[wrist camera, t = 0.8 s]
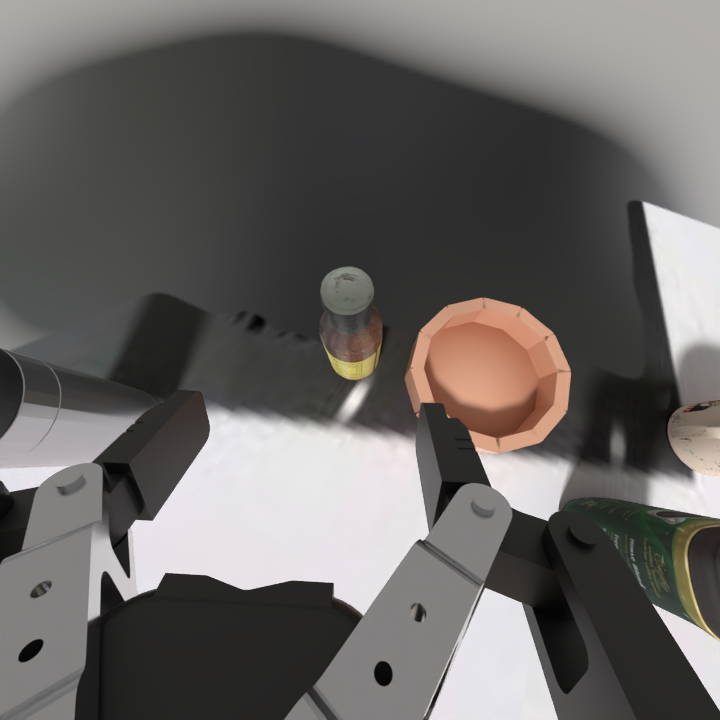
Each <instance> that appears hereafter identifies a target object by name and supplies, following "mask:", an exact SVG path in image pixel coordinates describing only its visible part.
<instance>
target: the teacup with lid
mask: <svg viewBox="0 0 720 720" xmlns="http://www.w3.org/2000/svg"><path fill="white" fill-rule="evenodd" d="M667 433H668V439H669V442H670V445H671V447H672V449H673V450H674V452H675V454H676V455H677V456H678V457H679V459H680V460H681V461H682V462H683V463H685V464H686V465H687V466H688V467H690V468H691V469H693V470H695V471H697V472H699V473H701V474H705V475H709V476H719V477H720V400H717V401H710V402H703V403H697V404H690V405H686V406H683V407H680V408H679V409H677V410H676V411H675V412H674V413H673V414H672V415H671V417H670V419H669V422H668V427H667Z"/></svg>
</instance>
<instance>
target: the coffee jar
mask: <svg viewBox="0 0 720 720" xmlns="http://www.w3.org/2000/svg"><path fill="white" fill-rule="evenodd" d="M563 511H568V512H573V513H577V514H580V515H582V516H584V517H586V518H588V519H590V520H591V521H593V522H594V523H596V524H597V525H598V526H600V527H601V528H602V529H603V530H604V531H605V532H606V533H607V534H608V536H609V537H610V538H611V540H612V541H613V543H614V544H615V546H616V548H617V549H618V551H619V552H620V554H621V555H622V557H623V559H624V560H625V562H626V563H627V565H628V567H629V568H630V570H631V571H632V573H633V574H634V576H635V578H636V579H637V581H638V582H639V584H640V586H641V587H642V589H643V590H644V592H645V593H646V595H647V597H648V598H649V600H650V601H651V603H652V604H654V605H656V606H658V607H660V608H662V609H664V610H666V611H668V612H670V613H672V614H675V615H677V616H678V617H681V618H683V619H685V620H686V621H688V622H691V623H692V624H694V625H696V626H698V627H699V628H701V629H702V630H704V631H705V632H707V633H708V634H709V635H711V636H712V637H714V638H715V639H717V640H719V641H720V519H717V518H711V517H706V516H700V515H695V514H690V513H685V512H680V511H674V510H669V509H664V508H658V507H653V506H648V505H643V504H638V503H633V502H627V501H622V500H616V499H609V498H581V499H575V500H572V501H570V502H569V503H568V504H566V506H565V507H564V509H563Z"/></svg>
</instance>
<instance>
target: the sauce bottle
mask: <svg viewBox="0 0 720 720" xmlns="http://www.w3.org/2000/svg"><path fill="white" fill-rule="evenodd" d="M320 297H321V302H322V305H323V308H324V309H325V312H324V314H323V315H322V318H321V321H320V336H321V340H322V342H323V345H324V347H325V349H326V352H327V354H328V357H329V359H330V362H331V364H332V366H333V368H334V370H335V371H336V372H337V373H338V374H339V375H340V376H342V377H344V378H346V379H350V380H361V379H363V378H365V377H367V376H368V375H370V374H371V373H372V372H373V371H374V370H375V368H376V366H377V363H378V360H379V355H380V348H381V342H382V335H383V332H382V329H383V323H382V318H381V315H380V314H379V313H378V310H377V309H376V308H375V306H374V305H373V301H374V285H373V283H372V280H371V279H370V277H369V276H368V275H367V274H366V273H365V272H364V271H362V270H360V269H358V268H355V267H342V268H338V269H335V270H333V271H332V272H330V273H329V274H327V276H326V277H325V278H324V280H323V282H322V284H321V289H320Z"/></svg>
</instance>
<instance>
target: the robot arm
mask: <svg viewBox="0 0 720 720" xmlns="http://www.w3.org/2000/svg"><path fill="white" fill-rule="evenodd" d="M209 432H210V425H209V420H208V416H207V412H206V407H205V403H204V399H203V395H202V393H201V392H199V391H186V390H177V391H175V392H174V393H173V394H172V395H170V396H169V397H168V398H167V399H166V400H165V401H164V402H163V403H160V404H158V402H157V401H156V399H155V398H154V397H153V396H152V395H151V394H149V393H147V392H145V391H143V390H139V389H136V388H133V387H130V386H126V385H123V384H120V383H117V382H113V381H110V380H107V379H103V378H100V377H97V376H93V375H90V374H86V373H83V372H80V371H76V370H73V369H70V368H66V367H63V366H60V365H56V364H53V363H49V362H46V361H43V360H39V359H36V358H32V357H29V356H25V355H22V354H18V353H15V352H12V351H8V350H5V349H2V348H0V468H25V467H51V466H71V467H68V468H65V469H63V470H61V471H59V472H57V473H55V474H54V475H52V476H51V477H49V478H48V479H47V480H45V481H44V482H43V483H42V484H41V485H40V486H39V487H35V488H30V489H25V490H19V491H14V492H9V491H8V490H7V488H6V487H5V485H4V484H3V482H2V481H0V720H429V719H430V717H431V714H432V712H433V710H434V707H435V705H436V703H437V700H438V698H439V696H440V693H441V691H442V689H443V686H444V684H445V682H446V679H447V677H448V674H449V672H450V670H451V667H452V665H453V662H454V660H455V657H456V655H457V652H458V650H459V648H460V645H461V643H462V641H463V638H464V636H465V634H466V631H467V629H468V627H469V624H470V622H471V620H472V617H473V615H474V613H475V610H476V608H477V606H478V603H479V601H480V599H481V596H482V594H483V592H484V589H485V588H487V589H490V590H492V591H495V592H497V593H500V594H502V595H505V596H507V597H509V598H512V599H514V600H517V601H519V602H522V605H523V608H524V611H525V614H526V618H527V621H528V624H529V627H530V630H531V634H532V637H533V640H534V643H535V646H536V650H537V653H538V656H539V659H540V662H541V666H542V669H543V672H544V675H545V678H546V682H547V685H548V688H549V691H550V695H551V698H552V701H553V704H554V707H555V711H556V714H557V717H558V720H720V711H719V709H718V708H717V706H716V704H715V703H714V701H713V700H712V698H711V697H710V695H709V693H708V692H707V690H706V689H705V687H704V685H703V684H702V682H701V681H700V679H699V677H698V676H697V674H696V673H695V671H694V670H693V668H692V666H691V665H690V663H689V662H688V660H687V658H686V657H685V655H684V654H683V652H682V651H681V649H680V647H679V646H678V644H677V643H676V641H675V639H674V638H673V636H672V635H671V633H670V632H669V630H668V628H667V627H666V625H665V624H664V622H663V620H662V619H661V617H660V616H659V614H658V613H657V611H656V609H655V608H654V606H653V605H652V603H651V601H650V600H649V598H648V597H647V595H646V593H645V592H644V590H643V589H642V587H641V586H640V584H639V582H638V581H637V579H636V578H635V576H634V574H633V573H632V571H631V570H630V568H629V567H628V565H627V563H626V562H625V560H624V559H623V557H622V555H621V554H620V552H619V551H618V549H617V548H616V546H615V544H614V543H613V541H612V540H611V538H610V537H609V536H608V534H607V533H606V532H605V531H604V530H603V529H602V528H601V527H600V526H598V525H597V524H596V523H594V522H593V521H591V520H590V519H588V518H586V517H584V516H582V515H580V514H577V513H573V512H568V511H560V512H556V513H554V514H552V515H551V517H550V518H549V520H548V521H546V520H543V519H540V518H537V517H534V516H531V515H528V514H525V513H522V512H519V511H517V510H515V509H513V508H511V507H510V504H509V503H508V501H507V500H506V499H505V497H504V496H503V495H502V494H500V493H499V492H498V491H496V490H495V489H493V488H492V487H491V485H490V483H489V480H488V478H487V475H486V473H485V470H484V468H483V465H482V463H481V460H480V458H479V455H478V453H477V451H476V448H475V445H474V443H473V441H472V438H471V436H470V433H469V431H468V428H467V427H466V426H465V425H464V424H463V423H462V422H461V421H460V420H459V419H458V418H448V416H447V413H446V410H445V407H444V405H443V404H442V403H425V402H422V403H421V406H420V412H419V419H418V426H417V433H416V455H417V462H418V468H419V474H420V480H421V486H422V492H423V498H424V504H425V510H426V516H427V522H428V528H429V534H428V536H427V537H426V539H425V540H424V541H422V540H420V539H419V540H418V541H417V542H415V544H414V545H413V546H412V547H411V549H410V550H409V552H408V553H407V555H406V556H405V557H404V559H403V560H402V562H401V563H400V565H399V566H398V567H397V569H396V570H395V572H394V573H393V575H392V576H391V577H390V579H389V580H388V582H387V583H386V585H385V586H384V587H383V589H382V590H381V592H380V593H379V595H378V596H377V598H376V599H375V600H374V602H373V603H372V605H371V606H370V608H369V609H368V610H367V612H366V613H365V615H364V616H363V615H362V614H361V613H360V612H359V611H358V610H356V609H355V608H354V607H352V606H351V605H349V604H347V603H346V602H344V601H342V600H340V599H337V598H335V597H334V583H324V582H307V581H288V582H283V583H279V584H274V585H270V586H265V587H260V588H256V589H251V590H242V589H239V588H237V587H234V586H232V585H229V584H227V583H224V582H222V581H219V580H217V579H214V578H212V577H209V576H206V575H190V574H173V573H165V575H164V577H163V579H162V580H161V582H160V584H159V586H158V588H157V589H153V590H150V591H147V592H144V593H141V594H139V595H138V593H137V587H136V576H135V562H134V548H133V534H132V531H131V529H130V527H131V525H132V524H133V523H134V521H135V520H150V521H153V519H154V518H155V516H156V515H157V513H158V512H159V510H160V509H161V507H162V506H163V505H164V503H165V502H166V500H167V499H168V497H169V496H170V494H171V493H172V491H173V490H174V488H175V487H176V485H177V484H178V483H179V481H180V480H181V478H182V477H183V475H184V474H185V472H186V471H187V469H188V468H189V466H190V465H191V464H192V462H193V461H194V459H195V458H196V456H197V455H198V453H199V452H200V450H201V449H202V447H203V446H204V445H205V443H206V441H207V439H208V437H209Z"/></svg>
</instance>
